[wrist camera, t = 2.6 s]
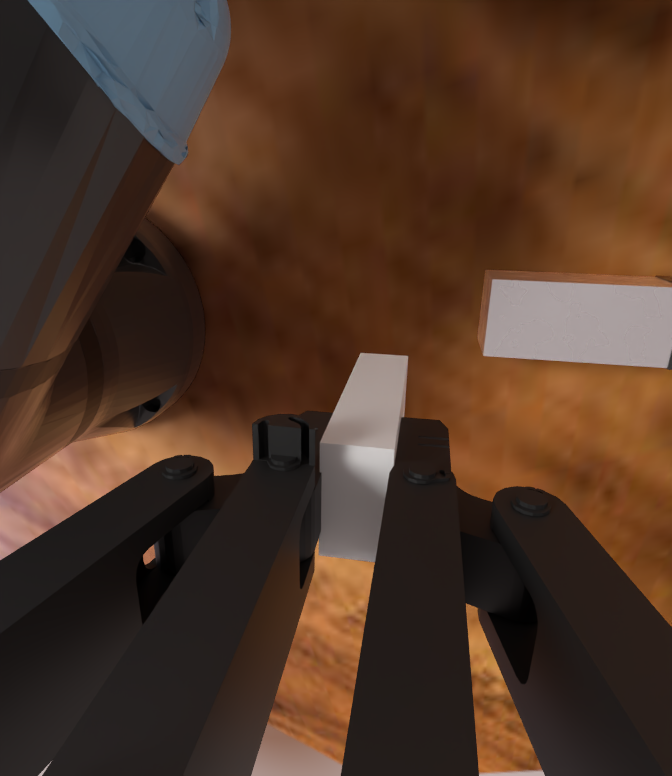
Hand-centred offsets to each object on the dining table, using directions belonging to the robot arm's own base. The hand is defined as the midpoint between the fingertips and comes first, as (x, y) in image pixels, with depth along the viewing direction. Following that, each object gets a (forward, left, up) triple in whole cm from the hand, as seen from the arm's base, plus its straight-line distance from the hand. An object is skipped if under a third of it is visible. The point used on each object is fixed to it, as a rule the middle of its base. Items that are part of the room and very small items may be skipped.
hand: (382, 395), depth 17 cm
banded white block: (+12, 0, -16) cm, 20 cm away
